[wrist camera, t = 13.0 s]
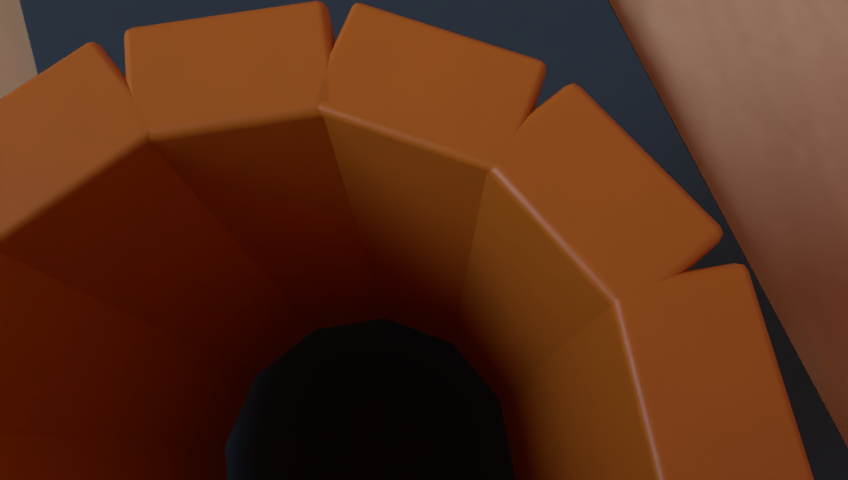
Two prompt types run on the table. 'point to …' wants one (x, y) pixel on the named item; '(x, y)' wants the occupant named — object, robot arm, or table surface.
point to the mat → (406, 347)
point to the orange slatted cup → (358, 252)
